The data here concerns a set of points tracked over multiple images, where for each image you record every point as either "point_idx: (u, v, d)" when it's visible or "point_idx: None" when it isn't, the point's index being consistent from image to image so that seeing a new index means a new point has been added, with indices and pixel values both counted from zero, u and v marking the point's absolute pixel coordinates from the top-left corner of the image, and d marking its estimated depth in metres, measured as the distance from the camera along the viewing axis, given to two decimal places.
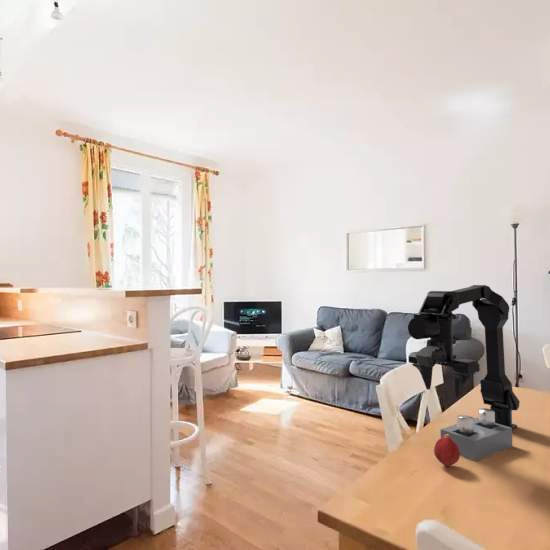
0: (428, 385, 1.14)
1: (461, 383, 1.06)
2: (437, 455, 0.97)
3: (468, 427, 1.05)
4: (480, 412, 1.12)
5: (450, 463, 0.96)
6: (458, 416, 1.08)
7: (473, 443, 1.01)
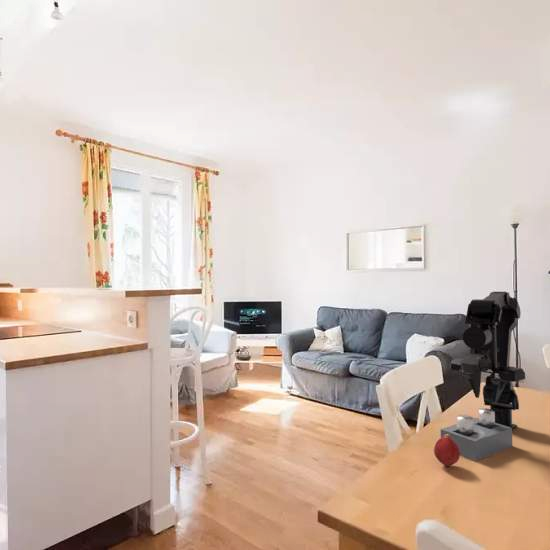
0: (477, 393, 1.14)
1: (499, 389, 1.09)
2: (437, 455, 0.97)
3: (468, 427, 1.05)
4: (480, 412, 1.12)
5: (450, 463, 0.96)
6: (458, 416, 1.08)
7: (473, 443, 1.01)
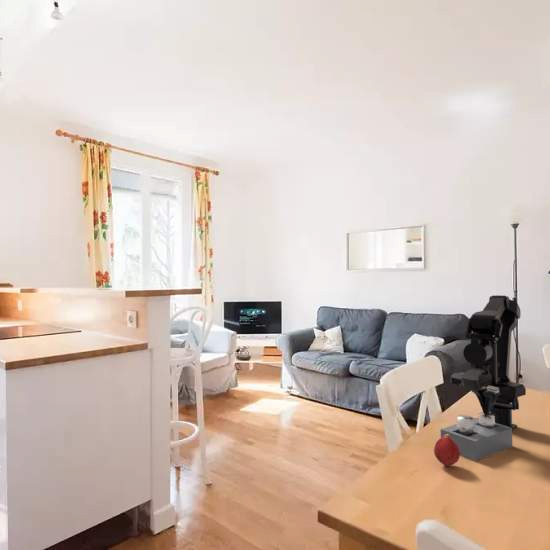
0: None
1: (491, 402, 1.11)
2: (437, 455, 0.97)
3: (468, 427, 1.05)
4: (480, 416, 1.12)
5: (450, 463, 0.96)
6: (458, 416, 1.08)
7: (473, 443, 1.01)
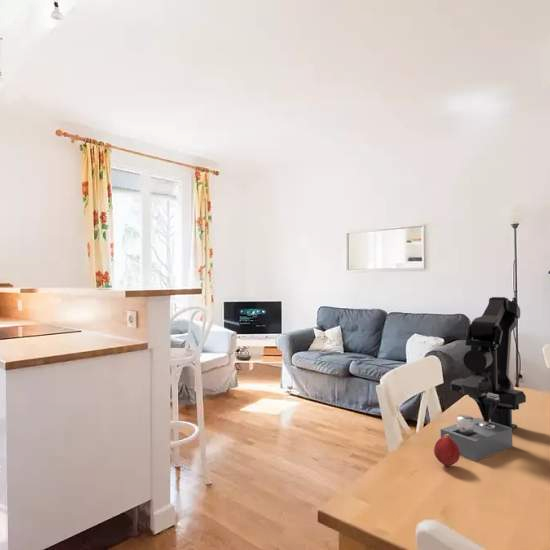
0: None
1: (491, 409, 1.11)
2: (437, 455, 0.97)
3: (468, 427, 1.05)
4: None
5: (450, 463, 0.96)
6: (458, 416, 1.08)
7: (473, 443, 1.01)
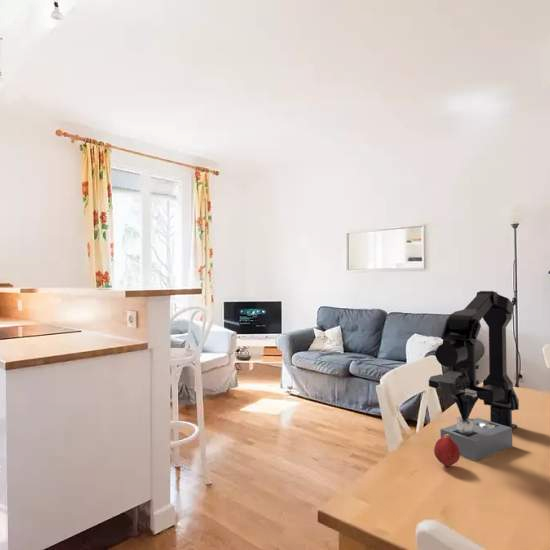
0: None
1: (469, 406, 1.06)
2: (437, 455, 0.97)
3: (468, 429, 1.05)
4: None
5: (450, 463, 0.96)
6: (458, 418, 1.08)
7: (473, 443, 1.01)
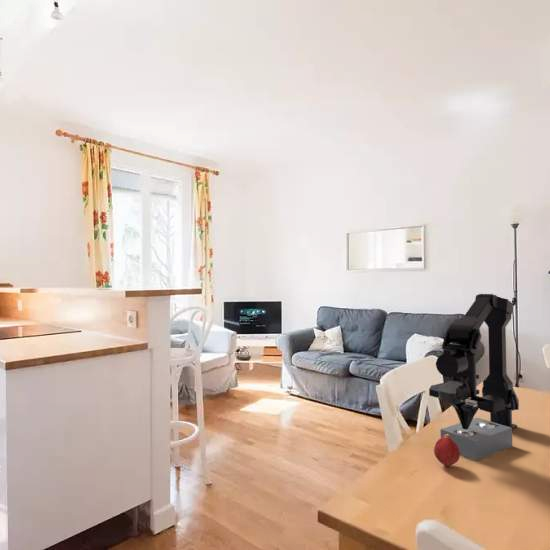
0: None
1: (470, 416, 1.06)
2: (437, 455, 0.97)
3: None
4: None
5: (450, 463, 0.96)
6: (458, 430, 1.08)
7: (473, 443, 1.01)
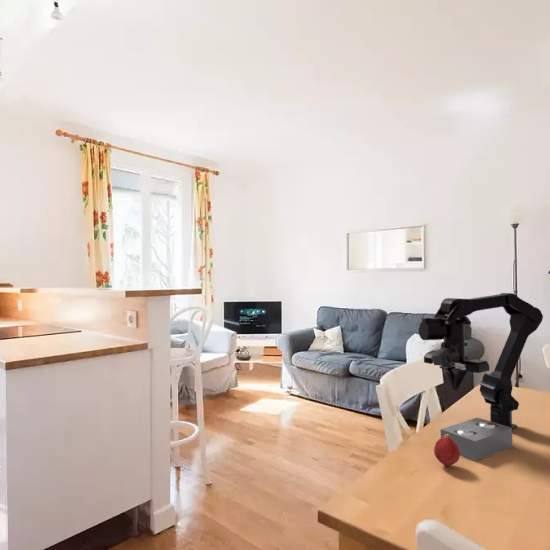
0: None
1: (459, 378, 1.22)
2: (437, 455, 0.97)
3: None
4: None
5: (450, 463, 0.96)
6: (458, 430, 1.08)
7: (473, 443, 1.01)
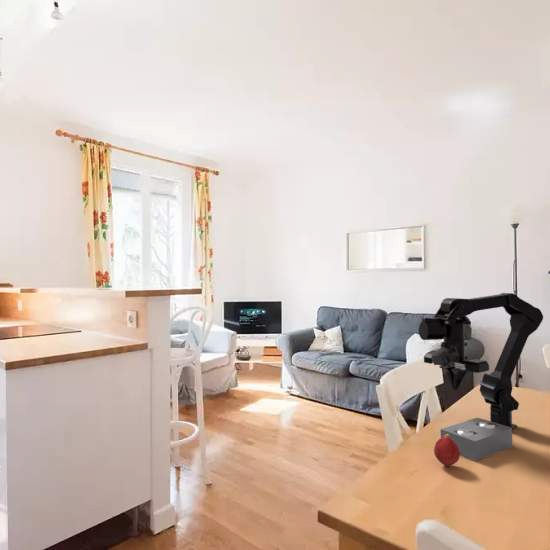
0: None
1: (459, 378, 1.22)
2: (437, 455, 0.97)
3: None
4: None
5: (450, 463, 0.96)
6: (458, 430, 1.08)
7: (473, 443, 1.01)
